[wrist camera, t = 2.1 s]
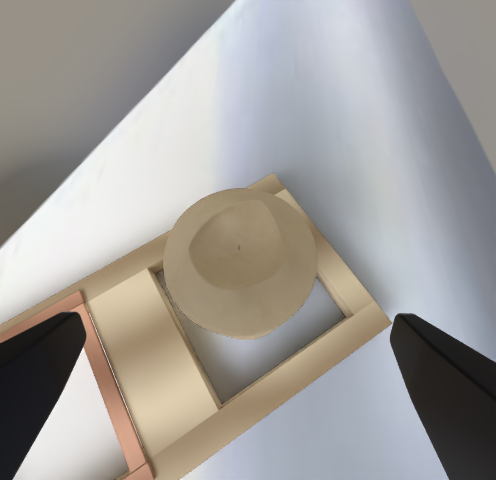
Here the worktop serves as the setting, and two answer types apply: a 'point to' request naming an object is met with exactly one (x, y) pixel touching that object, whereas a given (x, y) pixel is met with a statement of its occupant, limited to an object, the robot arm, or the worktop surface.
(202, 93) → the worktop surface
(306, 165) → the worktop surface
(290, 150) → the worktop surface
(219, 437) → the rail frame
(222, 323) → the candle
